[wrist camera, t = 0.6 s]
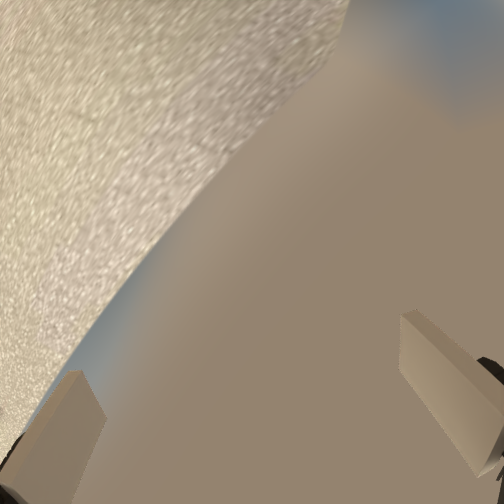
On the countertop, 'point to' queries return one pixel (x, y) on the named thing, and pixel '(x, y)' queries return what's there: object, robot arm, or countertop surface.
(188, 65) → the countertop surface
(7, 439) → the countertop surface
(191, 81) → the countertop surface
